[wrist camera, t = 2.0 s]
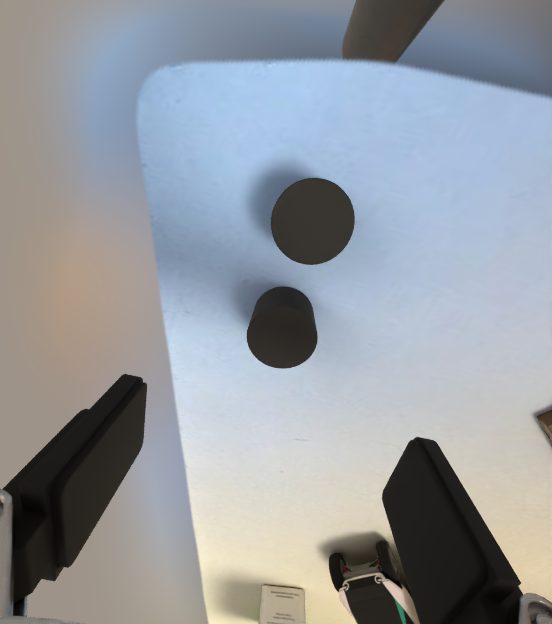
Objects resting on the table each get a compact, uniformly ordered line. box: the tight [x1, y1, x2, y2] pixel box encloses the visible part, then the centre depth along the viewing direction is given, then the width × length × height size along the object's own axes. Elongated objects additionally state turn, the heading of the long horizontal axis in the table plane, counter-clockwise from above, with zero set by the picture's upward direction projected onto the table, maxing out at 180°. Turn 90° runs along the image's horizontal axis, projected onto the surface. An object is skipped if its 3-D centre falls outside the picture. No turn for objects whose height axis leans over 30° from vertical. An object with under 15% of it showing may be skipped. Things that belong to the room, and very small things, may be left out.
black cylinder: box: [271, 178, 355, 265], centre depth 15 cm, size 4×4×4 cm
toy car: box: [329, 542, 420, 624], centre depth 28 cm, size 6×12×5 cm, turn 29°
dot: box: [247, 287, 317, 368], centre depth 18 cm, size 4×4×4 cm
